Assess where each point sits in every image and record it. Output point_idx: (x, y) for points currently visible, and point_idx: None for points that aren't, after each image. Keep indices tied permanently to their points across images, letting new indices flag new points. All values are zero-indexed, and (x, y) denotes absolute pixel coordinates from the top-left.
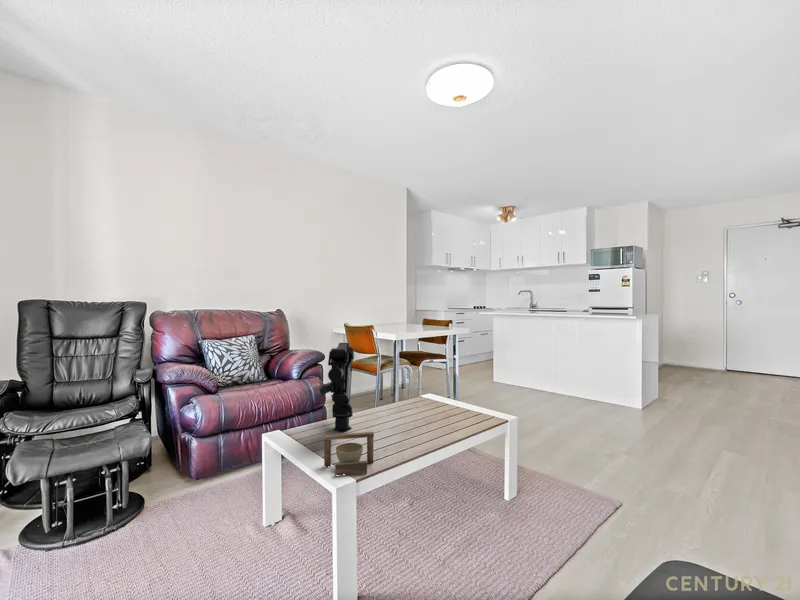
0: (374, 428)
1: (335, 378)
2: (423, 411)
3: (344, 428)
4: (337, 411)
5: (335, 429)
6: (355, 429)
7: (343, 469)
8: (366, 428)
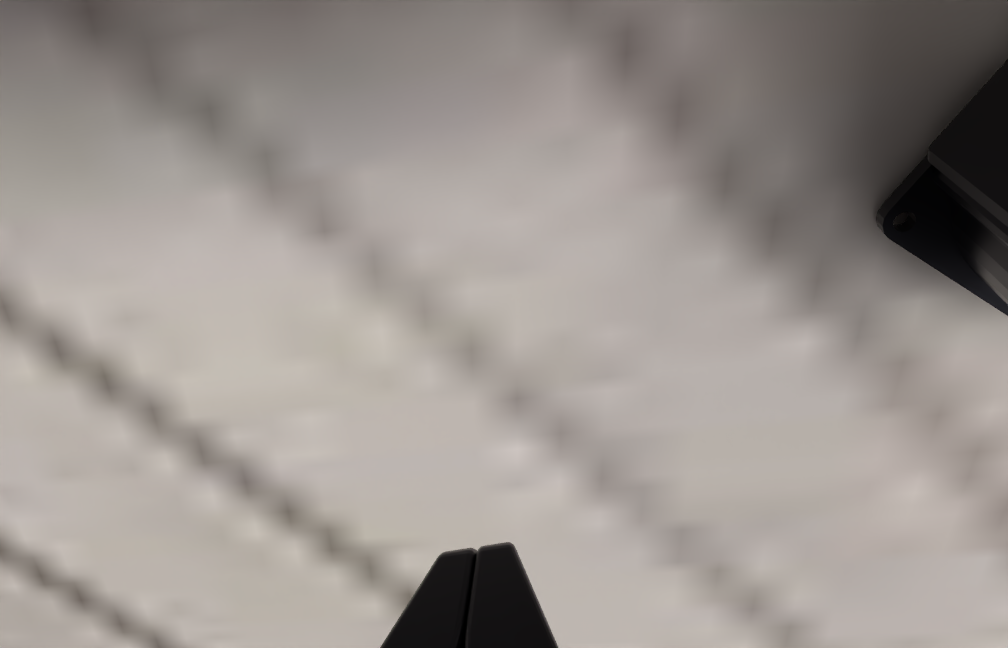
0: (952, 621)
1: None
2: None
3: (968, 253)
4: (426, 590)
5: (1005, 62)
6: (985, 396)
7: None
8: (985, 535)
